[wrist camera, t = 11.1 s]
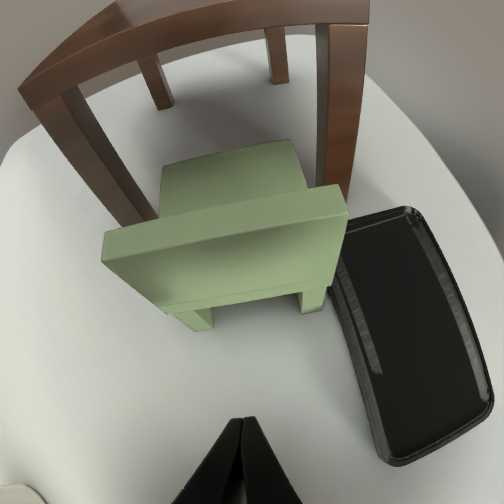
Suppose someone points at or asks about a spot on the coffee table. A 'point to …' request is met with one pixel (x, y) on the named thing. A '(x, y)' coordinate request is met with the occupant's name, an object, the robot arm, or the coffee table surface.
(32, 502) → the drinking glass
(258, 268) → the chair
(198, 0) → the walnut table
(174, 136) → the coffee table surface
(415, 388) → the phone
